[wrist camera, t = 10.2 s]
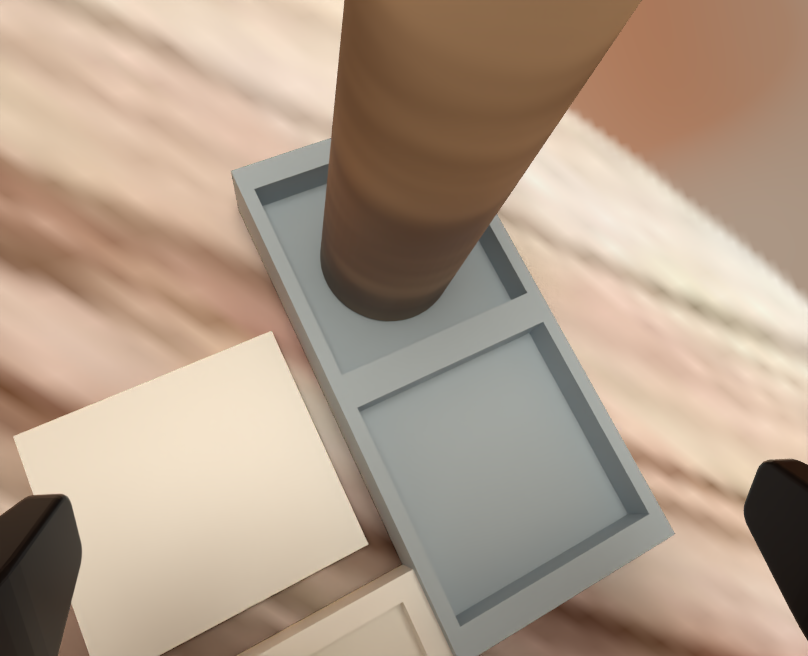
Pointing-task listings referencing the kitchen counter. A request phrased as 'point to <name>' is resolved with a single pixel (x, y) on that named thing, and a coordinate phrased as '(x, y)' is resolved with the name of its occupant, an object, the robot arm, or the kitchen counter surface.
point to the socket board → (461, 421)
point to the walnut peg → (442, 132)
